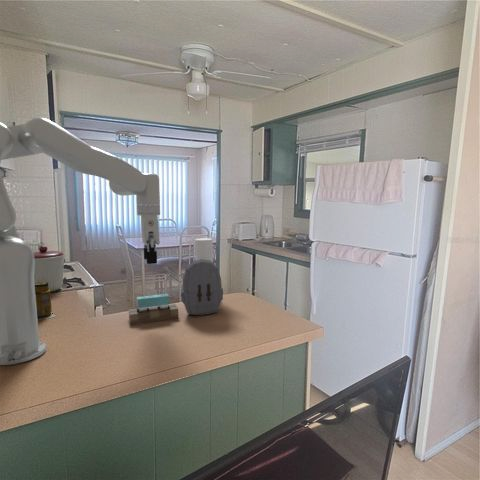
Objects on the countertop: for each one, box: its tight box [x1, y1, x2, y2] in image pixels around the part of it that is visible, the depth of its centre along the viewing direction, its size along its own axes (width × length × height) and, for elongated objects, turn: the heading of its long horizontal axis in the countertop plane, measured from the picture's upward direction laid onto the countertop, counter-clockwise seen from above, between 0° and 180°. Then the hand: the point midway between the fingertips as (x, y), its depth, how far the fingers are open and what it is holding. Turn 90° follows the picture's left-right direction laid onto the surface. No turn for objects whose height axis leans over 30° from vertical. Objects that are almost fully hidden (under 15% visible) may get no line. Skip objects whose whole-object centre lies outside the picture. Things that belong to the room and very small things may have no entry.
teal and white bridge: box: [136, 293, 170, 313], centre depth 118 cm, size 3×10×8 cm, turn 112°
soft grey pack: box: [180, 259, 224, 316], centre depth 121 cm, size 15×8×20 cm, turn 105°
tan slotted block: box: [128, 303, 180, 326], centre depth 118 cm, size 6×16×4 cm, turn 111°
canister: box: [33, 245, 66, 293], centre depth 159 cm, size 18×18×21 cm
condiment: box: [34, 282, 57, 321], centre depth 122 cm, size 7×8×12 cm
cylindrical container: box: [194, 237, 214, 263], centre depth 141 cm, size 7×7×25 cm
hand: (150, 261), depth 116 cm, fingers open, 9 cm apart
